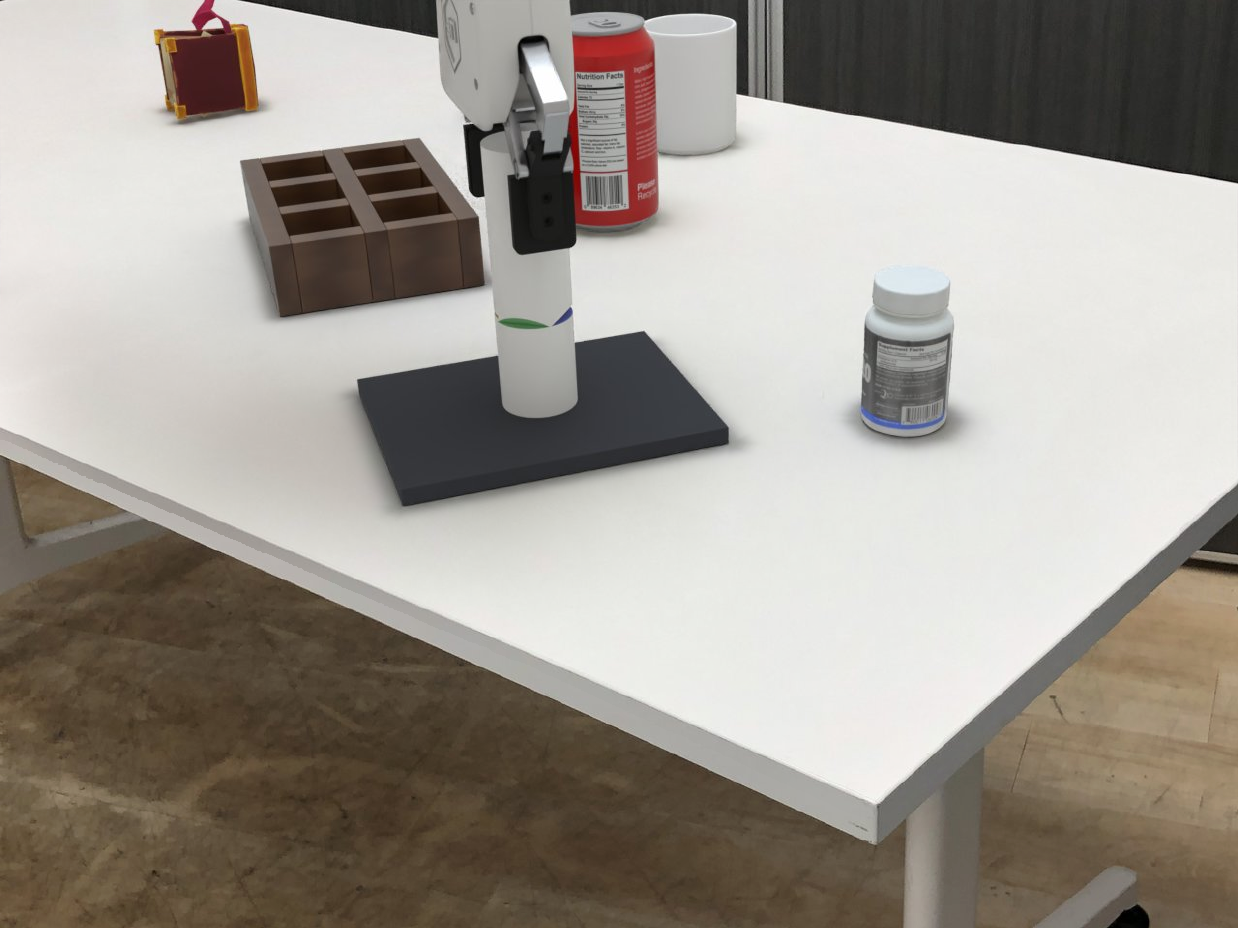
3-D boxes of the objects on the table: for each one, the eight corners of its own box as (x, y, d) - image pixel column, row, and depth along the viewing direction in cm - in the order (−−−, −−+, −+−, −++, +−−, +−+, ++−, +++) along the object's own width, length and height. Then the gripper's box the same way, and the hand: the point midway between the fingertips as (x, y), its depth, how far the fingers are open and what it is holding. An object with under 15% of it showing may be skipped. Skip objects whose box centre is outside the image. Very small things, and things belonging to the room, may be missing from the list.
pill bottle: (870, 395, 83) (877, 257, 79) (953, 406, 81) (964, 266, 77) (850, 432, 79) (857, 289, 75) (937, 444, 77) (948, 299, 73)
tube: (490, 394, 82) (467, 137, 75) (558, 377, 84) (542, 124, 77) (520, 424, 79) (499, 158, 72) (590, 406, 81) (577, 144, 73)
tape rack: (280, 317, 96) (268, 246, 94) (250, 222, 113) (239, 160, 111) (485, 285, 100) (479, 216, 97) (426, 198, 117) (419, 137, 114)
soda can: (589, 245, 106) (578, 38, 99) (539, 216, 112) (525, 19, 105) (678, 223, 109) (675, 21, 102) (625, 196, 115) (618, 4, 108)
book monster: (167, 125, 138) (166, 101, 149) (263, 117, 140) (255, 94, 151) (148, 10, 134) (149, -6, 144) (247, 3, 136) (241, -12, 146)
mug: (633, 170, 121) (629, 46, 116) (589, 146, 128) (583, 28, 123) (754, 146, 126) (755, 26, 121) (705, 124, 132) (704, 9, 127)
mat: (402, 506, 74) (400, 489, 73) (358, 394, 85) (356, 378, 85) (729, 443, 78) (729, 427, 78) (644, 345, 90) (644, 330, 90)
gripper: (384, -141, 74) (418, 182, 82) (458, -99, 60) (490, 288, 68) (525, -151, 76) (544, 165, 84) (629, -113, 62) (640, 265, 70)
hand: (520, 219), depth 76 cm, fingers open, 9 cm apart
